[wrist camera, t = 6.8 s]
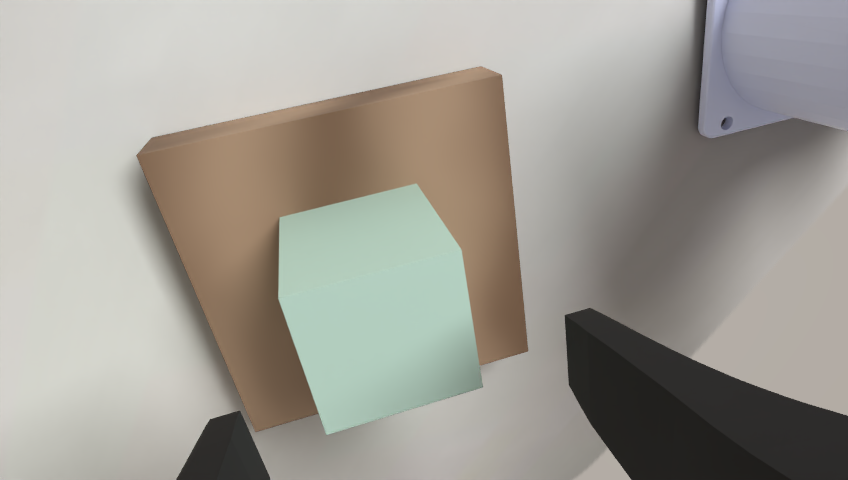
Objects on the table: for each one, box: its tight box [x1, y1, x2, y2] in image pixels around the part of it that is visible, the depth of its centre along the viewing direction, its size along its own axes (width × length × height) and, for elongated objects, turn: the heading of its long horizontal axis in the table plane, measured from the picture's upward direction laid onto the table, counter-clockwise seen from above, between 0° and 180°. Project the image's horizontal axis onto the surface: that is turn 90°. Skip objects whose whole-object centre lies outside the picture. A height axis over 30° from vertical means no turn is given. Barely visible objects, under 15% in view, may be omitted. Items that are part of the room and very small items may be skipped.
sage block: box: [278, 183, 483, 435], centre depth 16 cm, size 4×4×5 cm
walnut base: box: [136, 67, 528, 432], centre depth 19 cm, size 11×11×2 cm
